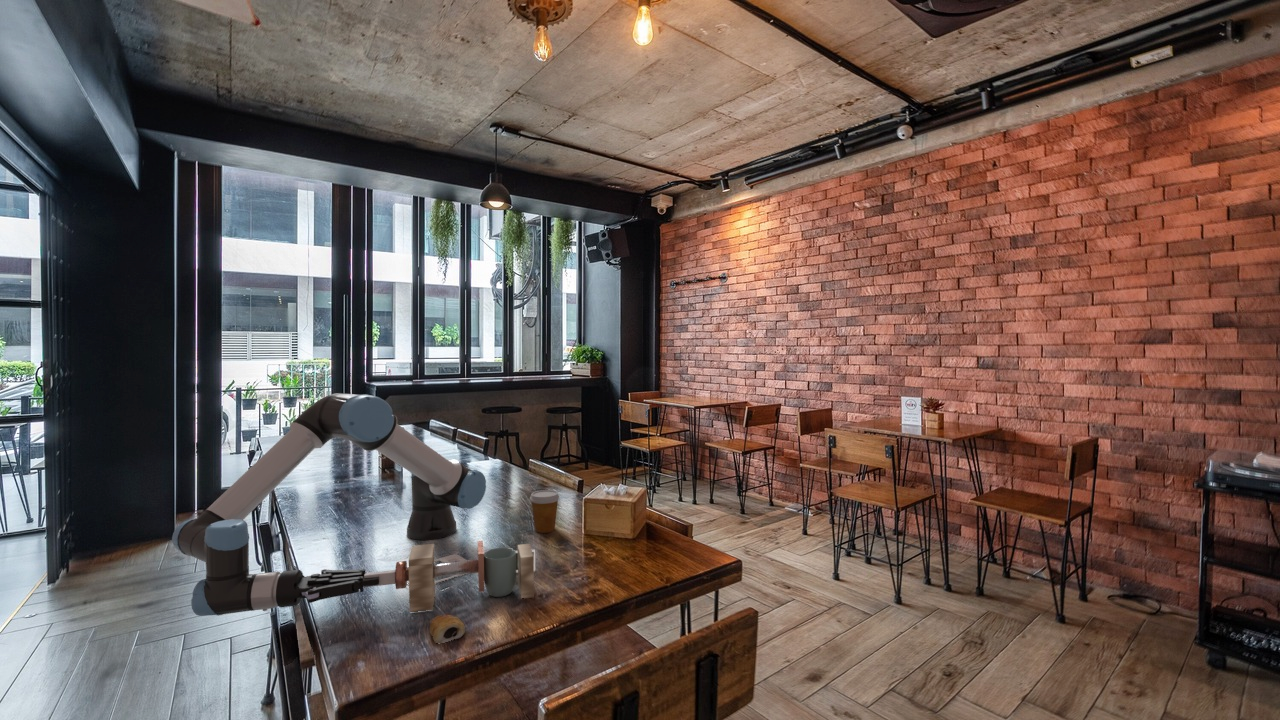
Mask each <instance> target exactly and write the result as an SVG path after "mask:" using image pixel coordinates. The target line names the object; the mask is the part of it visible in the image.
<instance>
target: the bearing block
mask: <svg viewBox="0 0 1280 720" xmlns="http://www.w3.org/2000/svg"><path fill="white" fill-rule="evenodd" d="M434 560H435V543H428V544H427V543H426V544H418V545H412V546H411V549H410V552H409V557H408V567H409V585H408V593H409V594H408V597H409V606H408V607H409V613H410V612H418V611H426V610H432V609H433V610H434V607H433V605H434V604H435V598H436V597H435V595H436V584H435V581H436V579H435V578H433V564H435V563H434ZM434 597H435V598H434Z"/></svg>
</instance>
